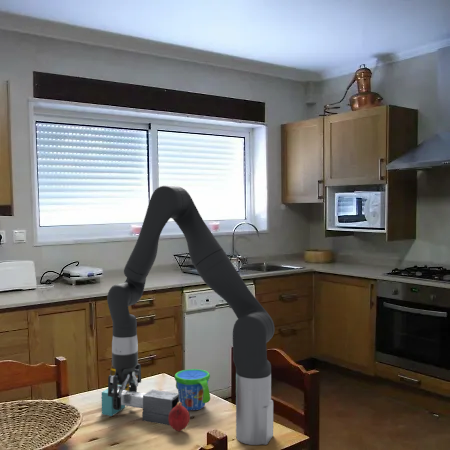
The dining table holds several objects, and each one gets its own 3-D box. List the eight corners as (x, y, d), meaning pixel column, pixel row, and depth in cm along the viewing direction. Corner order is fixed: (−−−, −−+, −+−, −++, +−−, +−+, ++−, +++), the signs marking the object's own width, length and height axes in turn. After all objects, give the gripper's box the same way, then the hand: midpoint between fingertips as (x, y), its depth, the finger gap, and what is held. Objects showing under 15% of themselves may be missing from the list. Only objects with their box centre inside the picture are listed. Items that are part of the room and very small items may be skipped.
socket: (125, 407, 154) (124, 385, 154) (111, 416, 148) (111, 393, 148) (115, 405, 156) (115, 384, 155) (101, 414, 149) (101, 392, 149)
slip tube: (156, 405, 148) (156, 394, 148) (150, 410, 145) (150, 398, 145) (115, 399, 153) (115, 388, 153) (109, 403, 150) (109, 392, 150)
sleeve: (180, 417, 147) (179, 393, 147) (170, 425, 141) (170, 400, 141) (152, 412, 150) (152, 389, 150) (142, 420, 145) (142, 396, 144)
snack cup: (166, 401, 159) (166, 369, 158) (196, 395, 164) (195, 364, 164) (188, 419, 145) (188, 384, 145) (220, 412, 151) (220, 378, 150)
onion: (186, 437, 134) (186, 407, 134) (165, 435, 135) (165, 405, 135) (192, 427, 140) (192, 399, 139) (172, 426, 141) (172, 397, 141)
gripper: (122, 358, 142) (122, 415, 142) (148, 345, 155) (148, 397, 155) (99, 355, 144) (100, 411, 145) (127, 342, 158) (127, 394, 158)
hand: (125, 404), depth 150 cm, fingers open, 8 cm apart
